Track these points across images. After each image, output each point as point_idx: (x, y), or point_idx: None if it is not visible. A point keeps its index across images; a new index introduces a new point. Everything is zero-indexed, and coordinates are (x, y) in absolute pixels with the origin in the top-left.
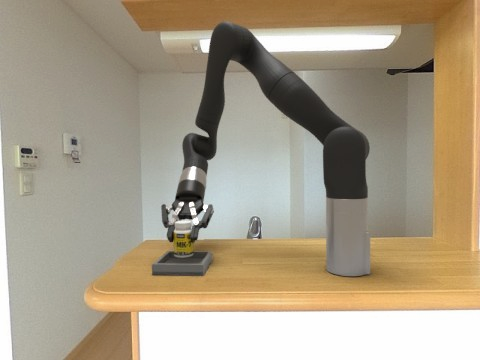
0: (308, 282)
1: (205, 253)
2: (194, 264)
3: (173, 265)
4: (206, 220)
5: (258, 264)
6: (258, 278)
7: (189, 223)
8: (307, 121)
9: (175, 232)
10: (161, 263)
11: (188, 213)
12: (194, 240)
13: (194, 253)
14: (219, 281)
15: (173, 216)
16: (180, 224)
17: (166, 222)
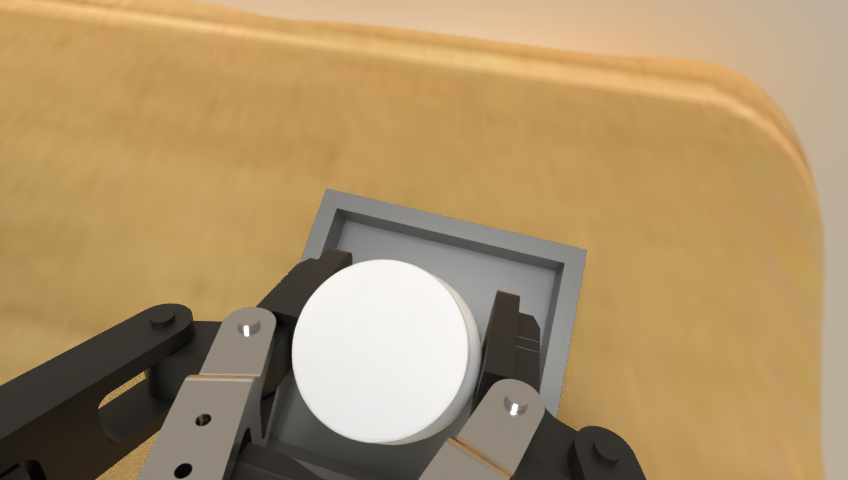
0: (2, 74)
1: (277, 449)
2: (366, 202)
3: (471, 223)
4: (129, 325)
5: (58, 318)
6: (140, 138)
7: (318, 292)
8: None
9: (462, 299)
10: (536, 254)
11: (275, 476)
12: None
13: (345, 472)
14: (288, 133)
15: (494, 462)
16: (410, 265)
17: (573, 441)
